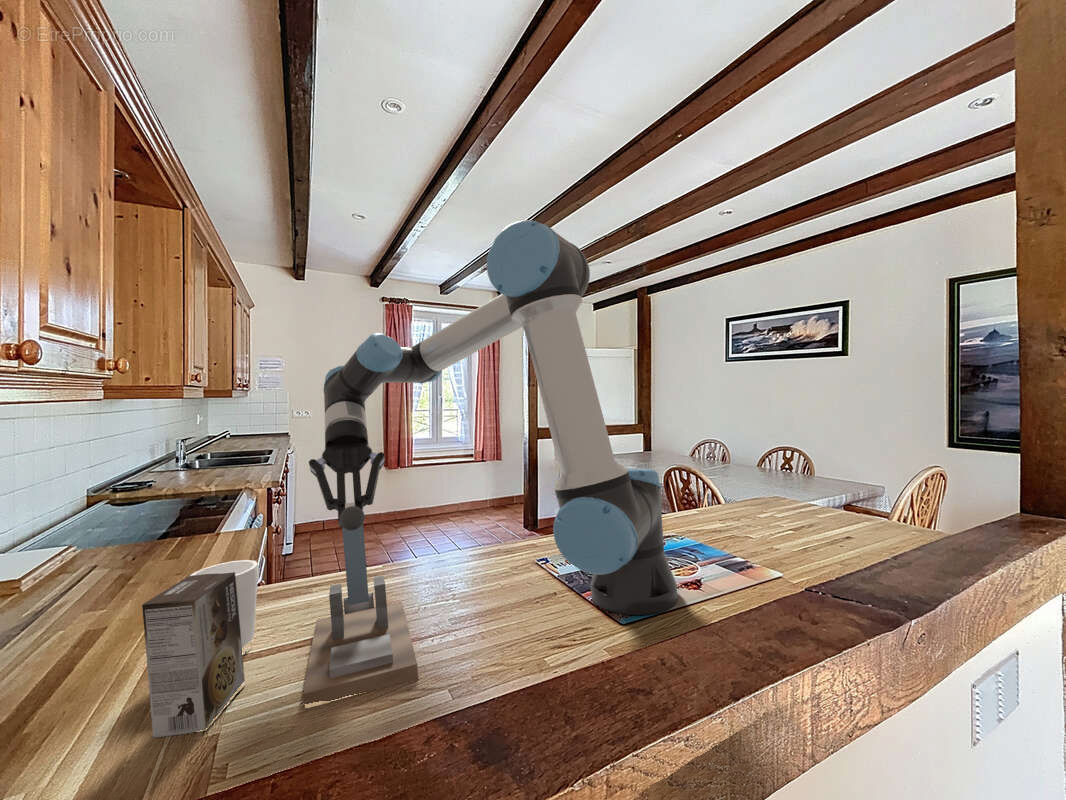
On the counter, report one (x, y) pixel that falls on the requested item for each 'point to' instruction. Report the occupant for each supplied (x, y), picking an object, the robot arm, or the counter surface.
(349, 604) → the lever
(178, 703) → the coffee box
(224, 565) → the foam cup
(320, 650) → the press base
